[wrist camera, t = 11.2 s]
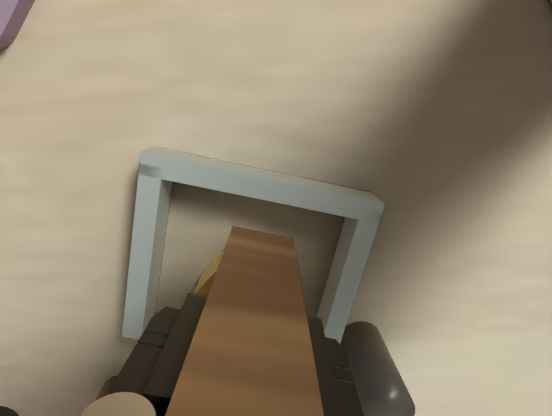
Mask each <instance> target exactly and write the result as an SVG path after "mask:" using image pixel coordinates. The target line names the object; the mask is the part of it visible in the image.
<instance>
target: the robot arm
mask: <svg viewBox="0 0 552 416" xmlns="http://www.w3.org/2000/svg"><path fill="white" fill-rule="evenodd" d="M550 2H551V4H552V0H550ZM206 300H207V296H202V295H197V294H191V293H188V295H187V297H186V299H185V301H184V304H183V306H182V308H181V310H179V309H174V308H168V307H165V308H164V309H162V310H161V311H160V312H158V313H157V314H155V315H154V316H153V317H152V318H151V320H150V321H149V323H148V325H147V327H146V328H145V330H144V333H143V334H142V335H141V337H140V339H139V340H138V343H137V345H136V346H135V347H134V349H133V351H132V353H131V354H130V356H129V358H128V360H127V361H126V363H125V365H124V367H123V368H122V370H121V372H120V374H119V375H118V377H117V379H116V381H115V382H114V384H113V386H112V388H111V389H110V391H109V393H108V394H107V395H106V396H104V397H101V398H100V399H98V400H96V401H94V402H93V403H92V404H90V405H89V406H88V407H87V408H86V409H85V410H84V411H83V412H82V413H81V415H80V416H165V415H166V412H167V409H168V406H169V403H170V401H171V398H172V395H173V392H174V389H175V387H176V384H177V381H178V378H179V375H180V373H181V370H182V367H183V364H184V361H185V359H186V356H187V353H188V350H189V347H190V345H191V342H192V339H193V336H194V333H195V331H196V328H197V325H198V322H199V319H200V317H201V314H202V311H203V308H204V305H205V303H206ZM307 320H308V326H309V332H310V338H311V344H312V350H313V355H314V361H315V367H316V373H317V379H318V384H319V390H320V396H321V402H322V408H323V414H324V416H364V415H363V411H362V408H361V404H360V401H359V397H358V394H357V390H356V386H355V384H354V379H353V376H352V372H351V371H350V365H349V361H348V358H347V354H346V352H345V351H344V349H343V348H342V347H341V345H340V344H339V343H338V341H337V340H336V339H332V338H327V337H325V334H324V330H323V325H322V320H321V319H320V318H316V317H310V316H307ZM0 416H19V415H18V414H17V413H16V412H15V411H14V410H12V409H10V408H7V407H3V406H0Z"/></svg>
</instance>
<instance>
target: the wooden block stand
mask: <svg viewBox="0 0 552 416" xmlns="http://www.w3.org/2000/svg"><path fill="white" fill-rule="evenodd" d="M165 416H324V414H323V408H322V402H321V396H320V390H319V384H318V379H317V373H316V367H315V361H314V355H313V350H312V344H311V338H310V332H309V326H308V320H307V315H306V309H305V303H304V297H303V291H302V286H301V280H300V274H299V268H298V262H297V257H296V251H295V245H294V239H293V238H288V237H283V236H278V235H273V234H268V233H263V232H259V231H254V230H249V229H244V228H239V227H234V226H233V227H232V230H231V233H230V235H229V238H228V241H227V244H226V247H225V249H224V252H223V255H222V258H221V261H220V263H219V266H218V269H217V272H216V275H215V277H214V280H213V283H212V286H211V289H210V291H209V294H208V297H207V300H206V303H205V305H204V308H203V311H202V314H201V317H200V319H199V322H198V325H197V328H196V331H195V333H194V336H193V339H192V342H191V345H190V347H189V350H188V353H187V356H186V359H185V361H184V364H183V367H182V370H181V373H180V375H179V378H178V381H177V384H176V387H175V389H174V392H173V395H172V398H171V401H170V403H169V406H168V409H167V412H166V415H165Z"/></svg>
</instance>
